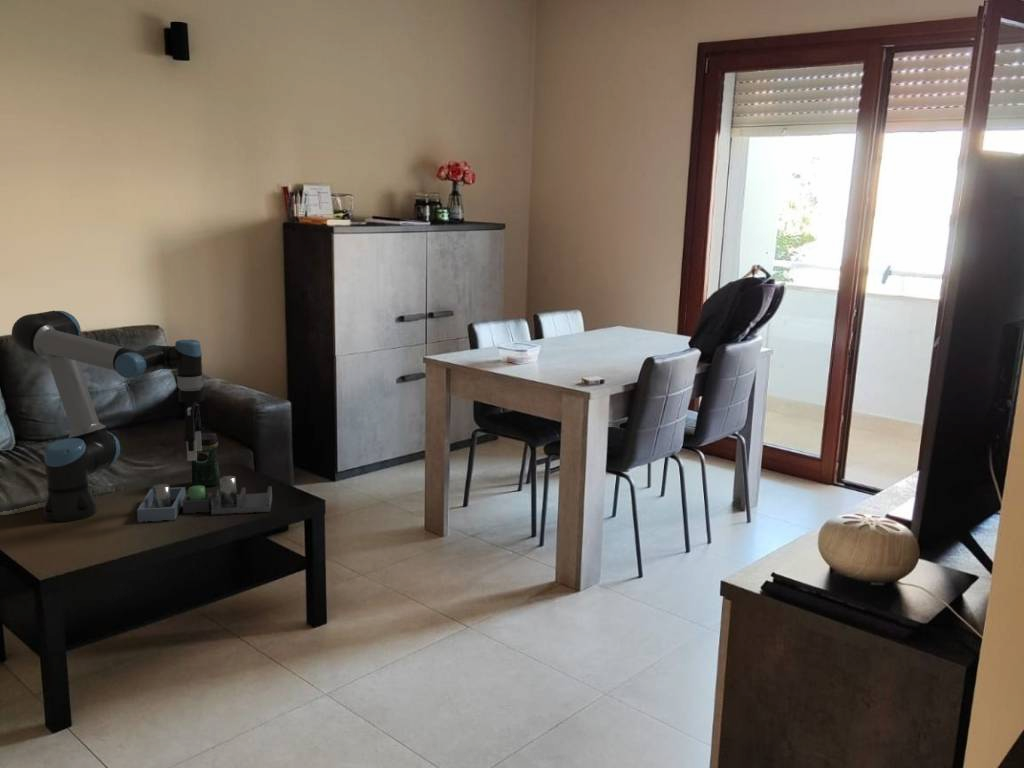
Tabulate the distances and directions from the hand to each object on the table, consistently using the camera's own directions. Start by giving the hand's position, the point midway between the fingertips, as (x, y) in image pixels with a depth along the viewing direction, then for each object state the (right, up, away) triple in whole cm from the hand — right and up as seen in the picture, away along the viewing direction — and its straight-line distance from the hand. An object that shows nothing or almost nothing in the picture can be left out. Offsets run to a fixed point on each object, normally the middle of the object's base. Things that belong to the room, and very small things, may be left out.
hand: (194, 455), depth 284 cm
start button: (0, -17, +3) cm, 17 cm away
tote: (-11, -18, +2) cm, 21 cm away
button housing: (0, -18, +3) cm, 18 cm away
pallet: (+14, -17, +6) cm, 23 cm away
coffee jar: (-7, -13, +30) cm, 33 cm away
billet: (-11, -18, +2) cm, 21 cm away
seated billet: (+9, -15, +5) cm, 19 cm away
